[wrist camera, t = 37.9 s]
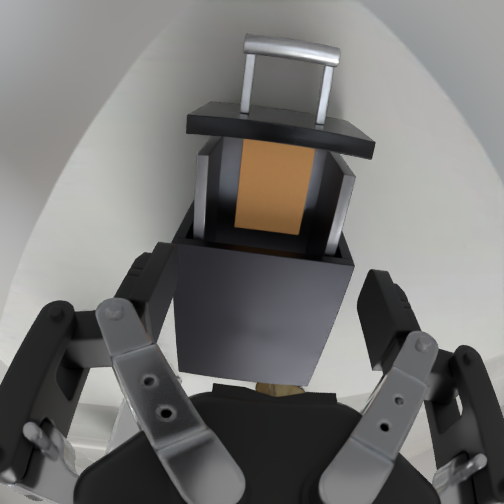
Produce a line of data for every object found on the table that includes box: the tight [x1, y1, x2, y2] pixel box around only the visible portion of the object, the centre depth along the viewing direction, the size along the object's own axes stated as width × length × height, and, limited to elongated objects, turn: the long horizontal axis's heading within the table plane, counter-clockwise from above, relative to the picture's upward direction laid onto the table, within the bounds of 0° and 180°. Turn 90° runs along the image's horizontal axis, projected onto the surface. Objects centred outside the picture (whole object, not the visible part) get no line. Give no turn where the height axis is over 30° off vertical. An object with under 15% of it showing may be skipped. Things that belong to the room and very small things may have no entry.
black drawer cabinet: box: [171, 199, 355, 386], centre depth 29 cm, size 15×13×10 cm
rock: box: [255, 382, 305, 397], centre depth 42 cm, size 11×9×10 cm
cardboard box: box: [235, 139, 315, 235], centre depth 23 cm, size 6×5×5 cm
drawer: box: [186, 34, 375, 257], centre depth 23 cm, size 19×11×8 cm, turn 173°
